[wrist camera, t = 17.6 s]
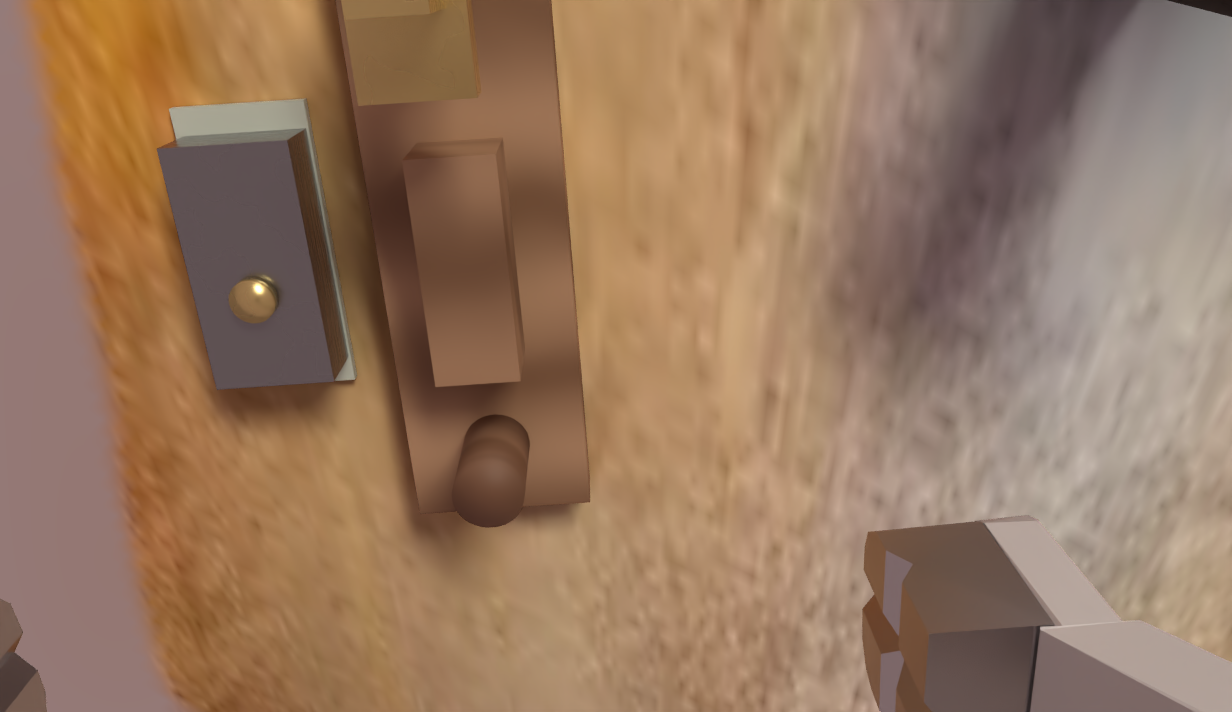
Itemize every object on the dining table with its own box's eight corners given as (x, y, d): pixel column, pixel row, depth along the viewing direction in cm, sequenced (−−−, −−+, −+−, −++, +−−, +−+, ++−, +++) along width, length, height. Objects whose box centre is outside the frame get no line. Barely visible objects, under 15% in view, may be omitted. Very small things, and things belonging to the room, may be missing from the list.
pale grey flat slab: (357, 375, 38) (355, 379, 38) (239, 383, 38) (235, 387, 38) (306, 98, 34) (303, 99, 34) (173, 107, 34) (168, 108, 34)
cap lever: (497, 68, 32) (467, 112, 23) (403, 75, 32) (337, 119, 23) (487, -37, 31) (449, -34, 22) (388, -31, 31) (312, -25, 22)
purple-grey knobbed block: (348, 356, 38) (331, 387, 35) (238, 364, 38) (212, 395, 35) (306, 128, 34) (282, 142, 31) (184, 136, 34) (150, 151, 31)
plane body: (589, 477, 41) (591, 592, 33) (427, 488, 41) (393, 606, 33) (538, -152, 31) (525, -185, 24) (327, -139, 31) (249, -167, 24)
